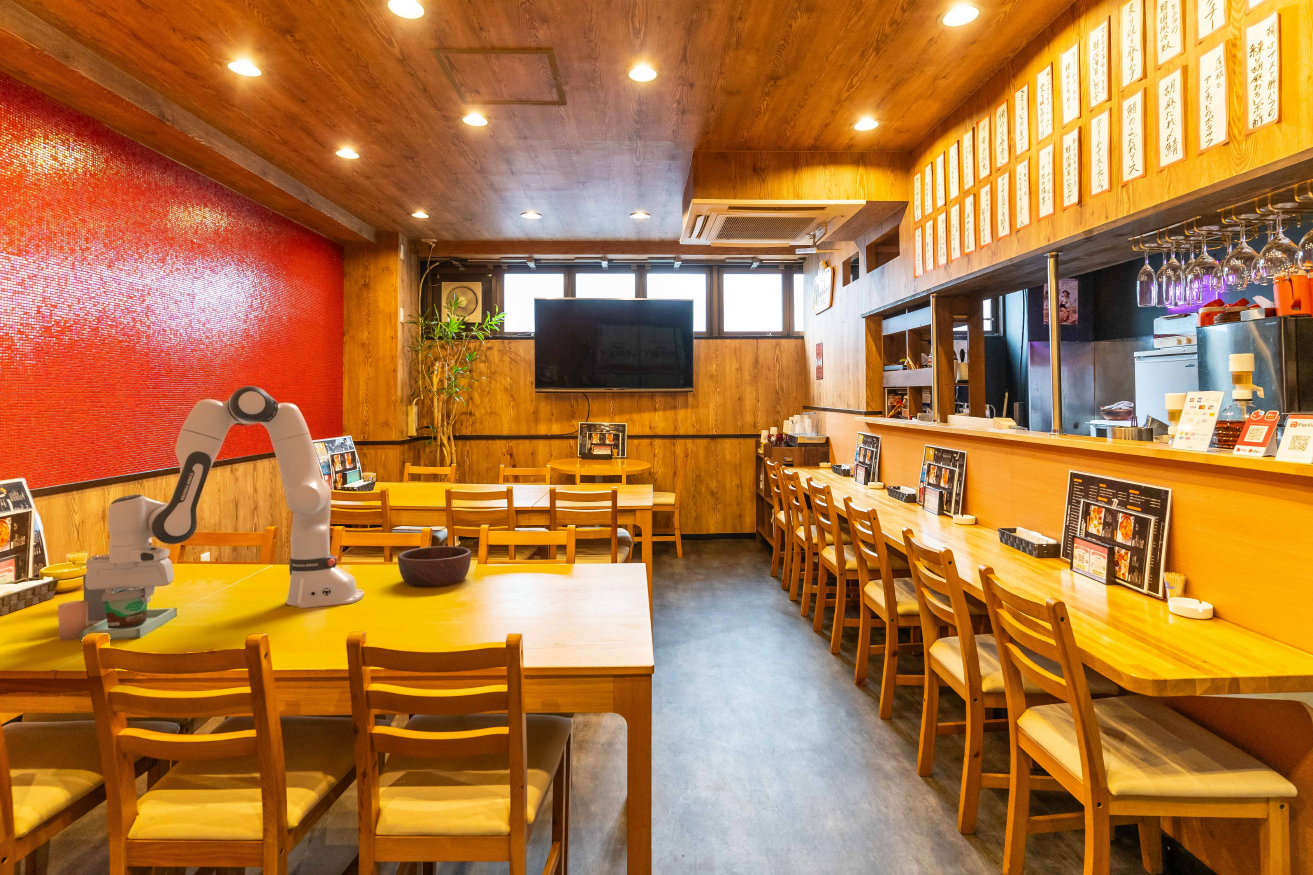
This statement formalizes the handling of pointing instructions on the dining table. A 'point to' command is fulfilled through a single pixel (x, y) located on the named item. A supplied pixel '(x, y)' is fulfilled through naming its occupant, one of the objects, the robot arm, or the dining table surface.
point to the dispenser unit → (96, 603)
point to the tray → (137, 631)
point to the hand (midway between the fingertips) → (131, 603)
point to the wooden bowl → (434, 566)
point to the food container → (125, 607)
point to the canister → (72, 619)
